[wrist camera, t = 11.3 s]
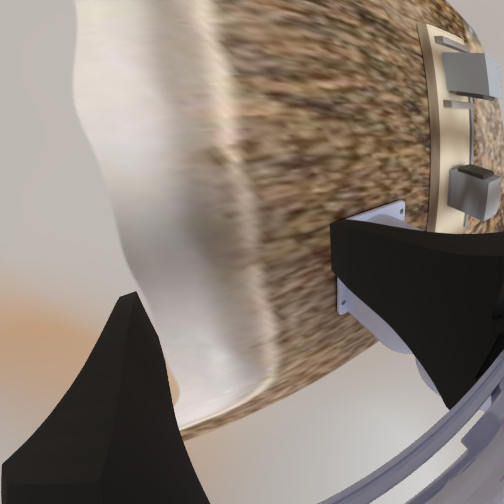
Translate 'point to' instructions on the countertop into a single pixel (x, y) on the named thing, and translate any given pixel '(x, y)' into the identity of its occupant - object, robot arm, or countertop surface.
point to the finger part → (472, 75)
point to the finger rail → (453, 145)
